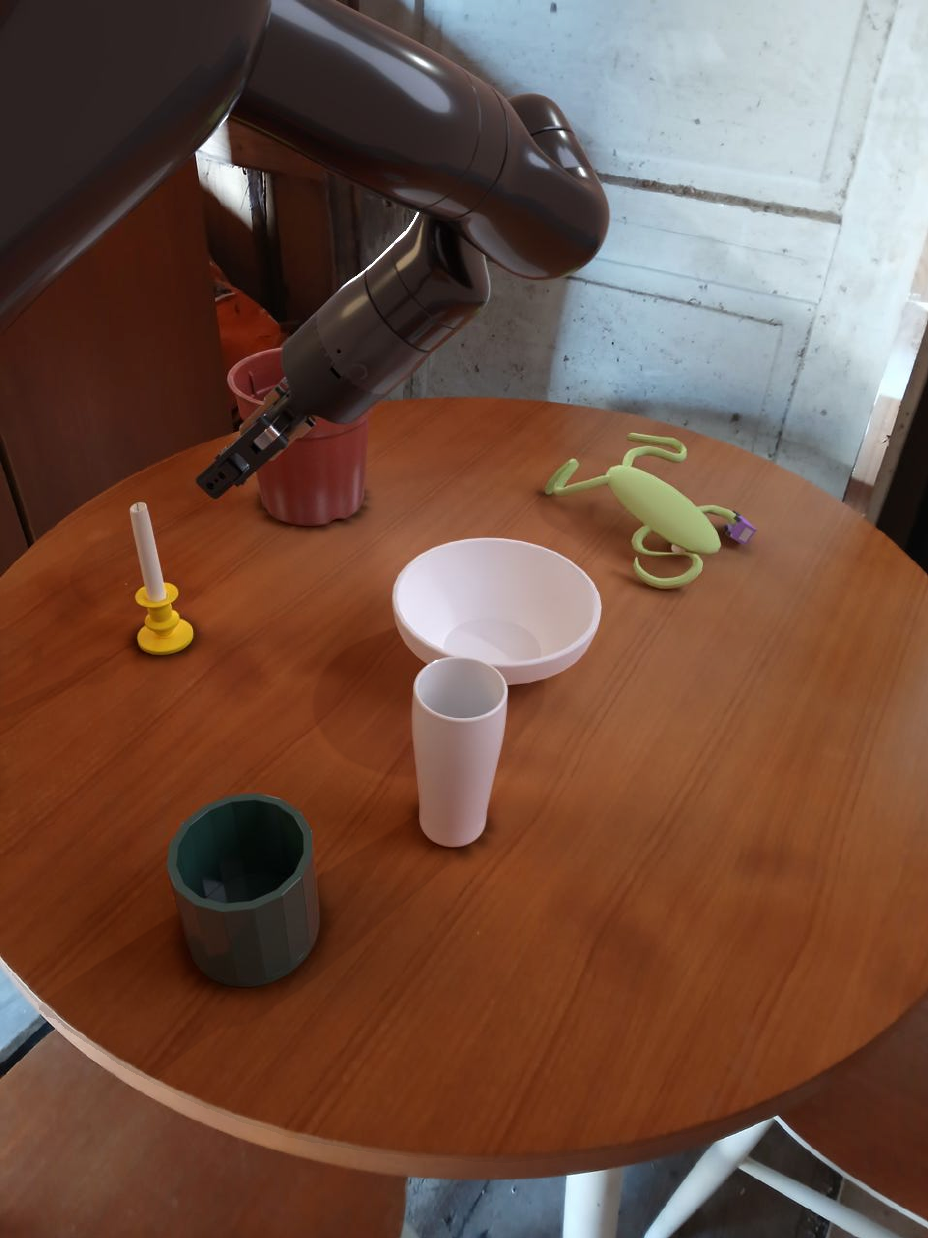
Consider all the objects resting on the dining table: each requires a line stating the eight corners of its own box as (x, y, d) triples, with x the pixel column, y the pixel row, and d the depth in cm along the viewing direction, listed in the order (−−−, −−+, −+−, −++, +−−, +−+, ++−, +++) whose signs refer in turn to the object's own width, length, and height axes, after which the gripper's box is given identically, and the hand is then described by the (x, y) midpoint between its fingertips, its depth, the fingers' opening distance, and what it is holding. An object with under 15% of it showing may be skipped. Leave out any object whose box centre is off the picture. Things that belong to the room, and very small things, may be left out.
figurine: (651, 456, 122) (658, 418, 118) (786, 562, 103) (799, 521, 100) (531, 482, 115) (535, 442, 111) (653, 600, 96) (663, 557, 93)
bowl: (453, 572, 99) (455, 517, 94) (620, 632, 92) (631, 575, 88) (352, 675, 85) (350, 616, 81) (540, 754, 79) (549, 695, 74)
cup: (213, 1012, 59) (194, 935, 54) (170, 905, 65) (149, 826, 60) (341, 949, 63) (335, 871, 58) (289, 853, 69) (280, 775, 64)
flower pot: (222, 486, 111) (204, 360, 101) (342, 455, 118) (336, 335, 108) (278, 553, 100) (265, 420, 90) (406, 514, 108) (407, 387, 98)
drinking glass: (507, 808, 74) (523, 673, 64) (473, 871, 69) (485, 734, 59) (433, 779, 76) (438, 644, 66) (394, 838, 71) (394, 701, 61)
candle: (146, 662, 85) (114, 523, 76) (131, 630, 89) (98, 494, 79) (200, 645, 88) (175, 508, 78) (184, 615, 91) (158, 480, 81)
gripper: (356, 273, 69) (233, 392, 78) (283, 342, 58) (150, 471, 67) (422, 350, 71) (296, 457, 80) (364, 430, 60) (225, 542, 69)
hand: (230, 463), depth 74 cm, fingers open, 8 cm apart
